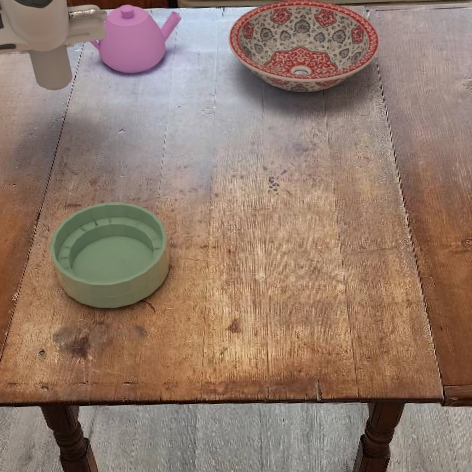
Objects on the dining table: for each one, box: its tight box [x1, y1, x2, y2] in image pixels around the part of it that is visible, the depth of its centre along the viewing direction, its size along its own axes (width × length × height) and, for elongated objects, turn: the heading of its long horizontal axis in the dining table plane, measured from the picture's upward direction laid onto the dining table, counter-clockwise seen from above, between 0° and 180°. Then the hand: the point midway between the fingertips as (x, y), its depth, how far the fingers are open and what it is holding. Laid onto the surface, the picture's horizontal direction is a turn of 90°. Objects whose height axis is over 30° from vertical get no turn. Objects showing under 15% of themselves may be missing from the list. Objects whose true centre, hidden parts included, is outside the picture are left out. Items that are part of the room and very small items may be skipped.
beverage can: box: [28, 45, 73, 91], centre depth 117 cm, size 6×6×12 cm
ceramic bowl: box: [228, 0, 380, 93], centre depth 135 cm, size 29×29×8 cm
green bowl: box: [49, 201, 171, 309], centre depth 103 cm, size 17×17×6 cm
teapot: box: [89, 4, 182, 74], centre depth 138 cm, size 14×20×11 cm
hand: (46, 45), depth 117 cm, fingers closed on beverage can, 6 cm apart
